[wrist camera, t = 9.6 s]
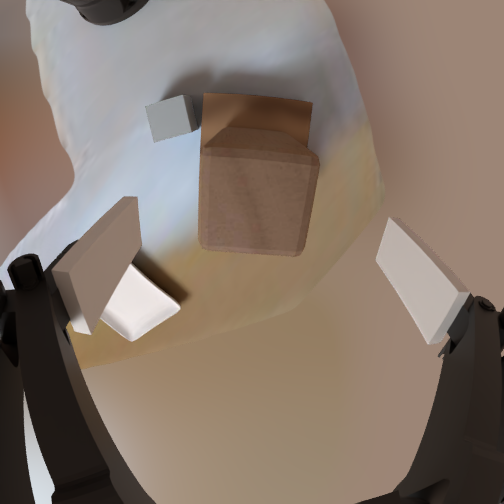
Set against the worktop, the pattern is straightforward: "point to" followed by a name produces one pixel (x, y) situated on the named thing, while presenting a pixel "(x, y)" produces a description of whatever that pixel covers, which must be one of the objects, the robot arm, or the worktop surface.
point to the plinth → (255, 115)
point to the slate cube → (171, 117)
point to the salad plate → (137, 305)
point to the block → (255, 192)
